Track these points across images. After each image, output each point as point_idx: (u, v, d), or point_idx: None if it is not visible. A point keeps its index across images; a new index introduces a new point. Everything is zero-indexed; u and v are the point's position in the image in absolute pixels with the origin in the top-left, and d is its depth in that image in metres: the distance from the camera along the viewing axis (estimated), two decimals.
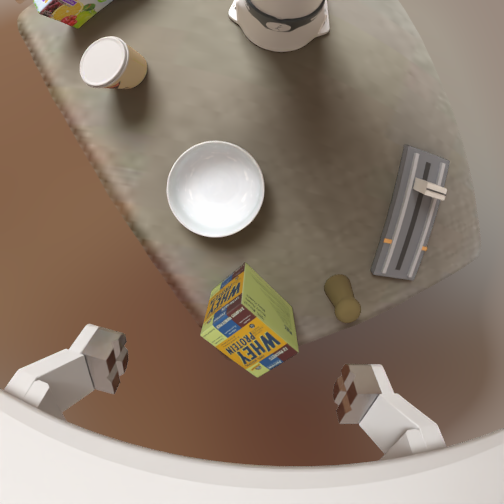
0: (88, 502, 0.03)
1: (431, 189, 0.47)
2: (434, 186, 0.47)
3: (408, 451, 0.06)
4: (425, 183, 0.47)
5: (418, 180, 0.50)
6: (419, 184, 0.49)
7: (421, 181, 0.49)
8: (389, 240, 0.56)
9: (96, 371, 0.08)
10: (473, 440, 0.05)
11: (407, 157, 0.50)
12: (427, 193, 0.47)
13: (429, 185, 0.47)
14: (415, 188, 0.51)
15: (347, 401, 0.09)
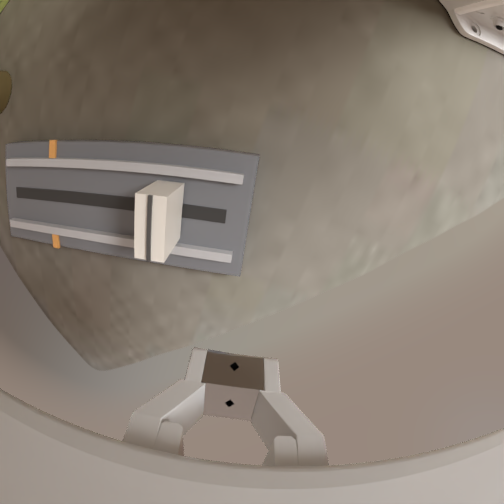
0: (88, 502, 0.03)
1: (151, 211, 0.20)
2: (161, 220, 0.20)
3: (273, 460, 0.06)
4: (165, 193, 0.20)
5: (176, 185, 0.23)
6: (165, 186, 0.22)
7: (172, 189, 0.22)
8: (53, 151, 0.23)
9: (214, 398, 0.08)
10: (472, 440, 0.05)
11: (228, 155, 0.23)
12: (139, 201, 0.20)
13: (160, 203, 0.20)
14: (157, 182, 0.23)
15: None
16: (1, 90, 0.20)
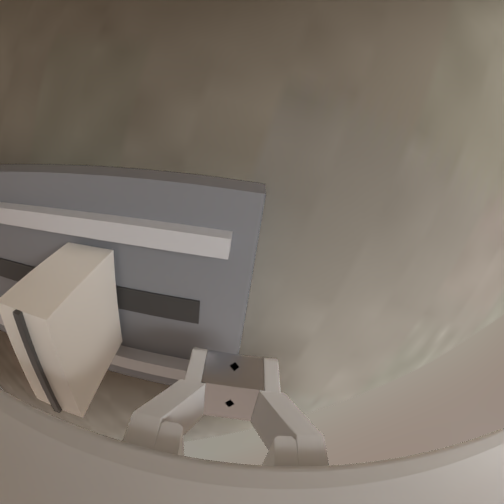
0: (88, 502, 0.03)
1: (29, 342, 0.07)
2: (52, 360, 0.07)
3: (273, 460, 0.06)
4: (50, 303, 0.07)
5: (90, 263, 0.10)
6: (67, 268, 0.09)
7: (75, 279, 0.09)
8: None
9: (214, 398, 0.08)
10: (473, 440, 0.05)
11: (196, 192, 0.11)
12: (7, 317, 0.07)
13: (39, 330, 0.07)
14: (61, 252, 0.10)
15: None
16: None
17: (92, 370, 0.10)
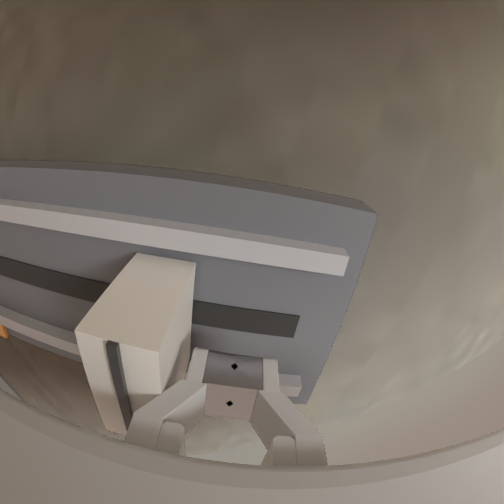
0: (88, 502, 0.03)
1: (122, 376, 0.07)
2: (150, 392, 0.07)
3: (271, 460, 0.06)
4: (153, 330, 0.07)
5: (177, 278, 0.10)
6: (153, 285, 0.09)
7: (170, 298, 0.09)
8: None
9: (215, 398, 0.08)
10: (473, 440, 0.05)
11: (315, 208, 0.11)
12: (89, 349, 0.07)
13: (142, 363, 0.07)
14: (135, 265, 0.10)
15: None
16: None
17: None
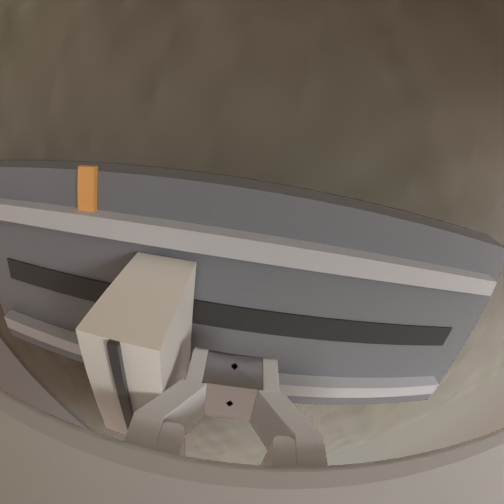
0: (88, 502, 0.03)
1: (123, 375, 0.07)
2: (150, 391, 0.07)
3: (271, 460, 0.06)
4: (153, 329, 0.07)
5: (178, 278, 0.10)
6: (154, 284, 0.09)
7: (170, 297, 0.09)
8: (90, 196, 0.10)
9: (215, 398, 0.08)
10: (473, 440, 0.05)
11: (480, 246, 0.11)
12: (90, 348, 0.07)
13: (143, 362, 0.07)
14: (135, 264, 0.10)
15: None
16: None
17: None
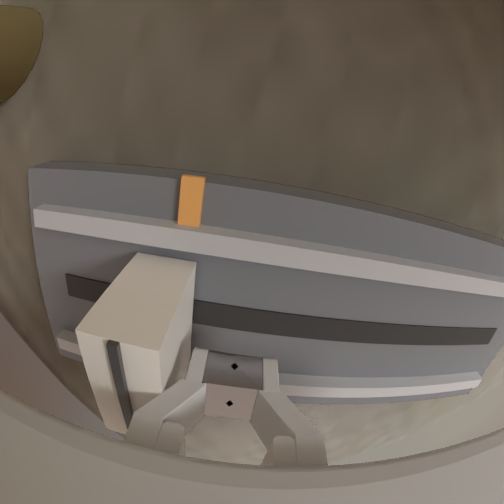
0: (88, 502, 0.03)
1: (123, 375, 0.07)
2: (150, 392, 0.07)
3: (271, 460, 0.06)
4: (153, 329, 0.07)
5: (178, 278, 0.10)
6: (154, 285, 0.09)
7: (170, 297, 0.09)
8: (195, 210, 0.10)
9: (215, 398, 0.08)
10: (473, 441, 0.05)
11: None
12: (89, 348, 0.07)
13: (143, 362, 0.07)
14: (135, 265, 0.10)
15: None
16: (19, 40, 0.08)
17: None
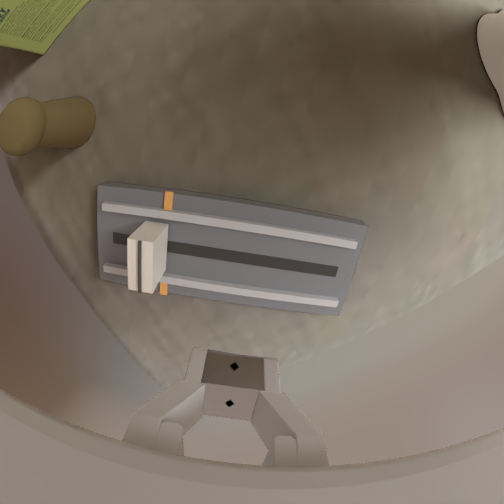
0: (88, 502, 0.03)
1: (141, 253, 0.24)
2: (149, 260, 0.24)
3: (273, 460, 0.06)
4: (152, 238, 0.24)
5: (161, 228, 0.27)
6: (152, 229, 0.26)
7: (158, 232, 0.26)
8: (170, 204, 0.28)
9: (214, 398, 0.08)
10: (473, 440, 0.05)
11: (345, 224, 0.29)
12: (131, 245, 0.24)
13: (148, 247, 0.24)
14: (145, 224, 0.27)
15: None
16: (86, 122, 0.25)
17: (157, 273, 0.27)
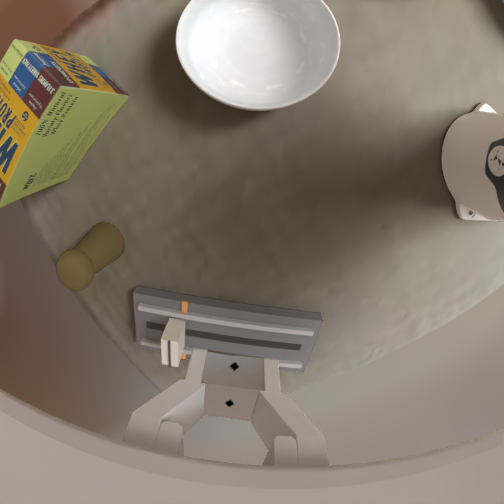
0: (88, 502, 0.03)
1: (170, 347, 0.38)
2: (175, 350, 0.38)
3: (273, 460, 0.06)
4: (176, 338, 0.38)
5: (181, 325, 0.41)
6: (175, 327, 0.40)
7: (179, 330, 0.40)
8: (185, 309, 0.41)
9: (214, 398, 0.08)
10: (472, 440, 0.05)
11: (305, 320, 0.42)
12: (163, 342, 0.38)
13: (174, 344, 0.38)
14: (170, 321, 0.41)
15: None
16: (118, 248, 0.39)
17: (180, 353, 0.41)
